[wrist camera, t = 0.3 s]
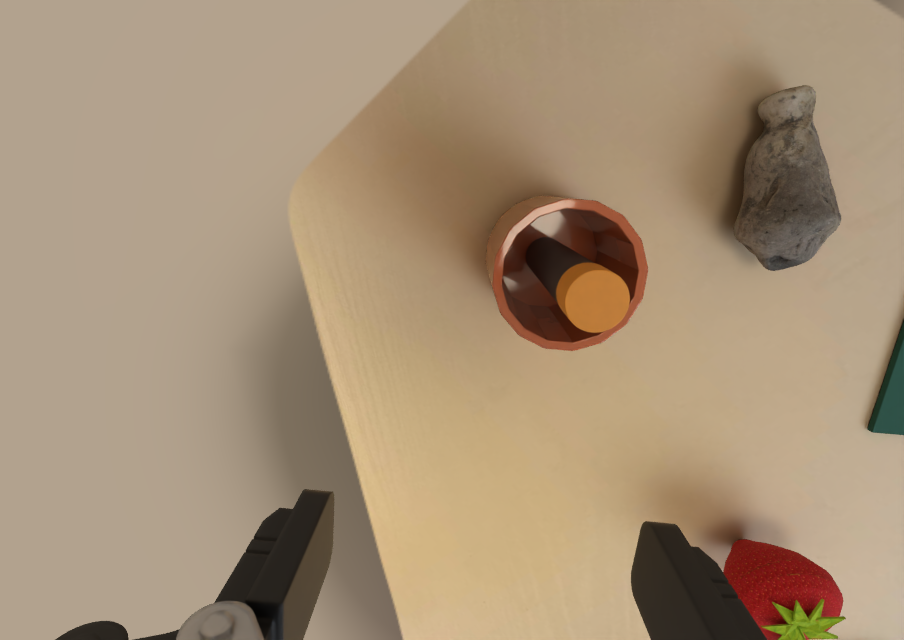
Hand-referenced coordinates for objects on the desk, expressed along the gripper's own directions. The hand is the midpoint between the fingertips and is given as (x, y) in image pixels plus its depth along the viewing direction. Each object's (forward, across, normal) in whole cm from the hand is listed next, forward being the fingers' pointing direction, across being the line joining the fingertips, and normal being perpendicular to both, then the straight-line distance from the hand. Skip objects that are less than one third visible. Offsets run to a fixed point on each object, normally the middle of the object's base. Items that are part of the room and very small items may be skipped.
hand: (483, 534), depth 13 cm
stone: (+24, -18, -10) cm, 32 cm away
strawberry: (+24, -24, +18) cm, 38 cm away
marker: (+23, -5, -4) cm, 24 cm away
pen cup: (+24, -5, -4) cm, 25 cm away
